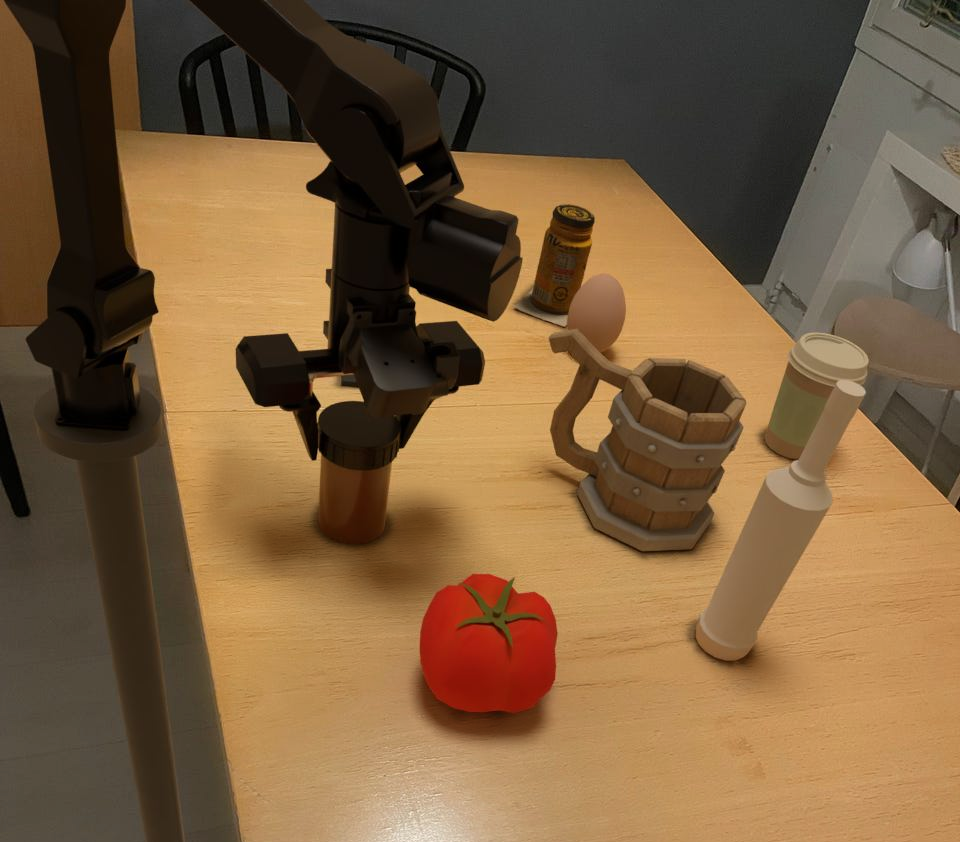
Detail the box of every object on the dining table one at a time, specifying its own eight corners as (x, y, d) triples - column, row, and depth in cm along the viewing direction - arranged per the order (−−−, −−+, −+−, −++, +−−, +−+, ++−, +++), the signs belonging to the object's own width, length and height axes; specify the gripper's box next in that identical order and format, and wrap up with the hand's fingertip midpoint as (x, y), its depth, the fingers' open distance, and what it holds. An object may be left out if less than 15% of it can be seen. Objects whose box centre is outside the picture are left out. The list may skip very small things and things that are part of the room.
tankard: (721, 507, 93) (779, 377, 83) (677, 570, 85) (735, 434, 74) (552, 429, 98) (586, 297, 88) (495, 481, 90) (525, 342, 79)
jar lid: (315, 468, 73) (316, 444, 72) (317, 420, 78) (318, 396, 76) (400, 474, 74) (403, 450, 73) (396, 427, 79) (399, 404, 77)
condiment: (585, 304, 121) (609, 212, 113) (564, 328, 115) (588, 233, 107) (535, 286, 122) (555, 194, 114) (512, 309, 116) (531, 214, 108)
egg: (586, 371, 108) (607, 293, 102) (548, 343, 112) (567, 266, 105) (624, 359, 112) (648, 283, 105) (587, 333, 115) (607, 258, 108)
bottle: (682, 624, 80) (799, 369, 62) (730, 616, 82) (857, 366, 64) (711, 667, 77) (843, 411, 59) (761, 657, 78) (904, 407, 61)
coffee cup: (824, 437, 107) (872, 343, 98) (824, 475, 101) (875, 379, 92) (754, 416, 108) (795, 321, 99) (750, 453, 102) (794, 356, 93)
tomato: (384, 675, 70) (395, 594, 64) (483, 617, 76) (502, 538, 70) (478, 764, 66) (500, 686, 59) (576, 695, 72) (604, 618, 66)
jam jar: (317, 542, 79) (321, 446, 72) (318, 499, 83) (323, 405, 76) (385, 546, 80) (396, 452, 73) (383, 504, 85) (394, 411, 77)
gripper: (279, 338, 57) (277, 529, 68) (534, 318, 65) (495, 493, 76) (230, 257, 63) (236, 444, 74) (468, 248, 71) (441, 419, 82)
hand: (356, 451), depth 77 cm, fingers open, 7 cm apart
